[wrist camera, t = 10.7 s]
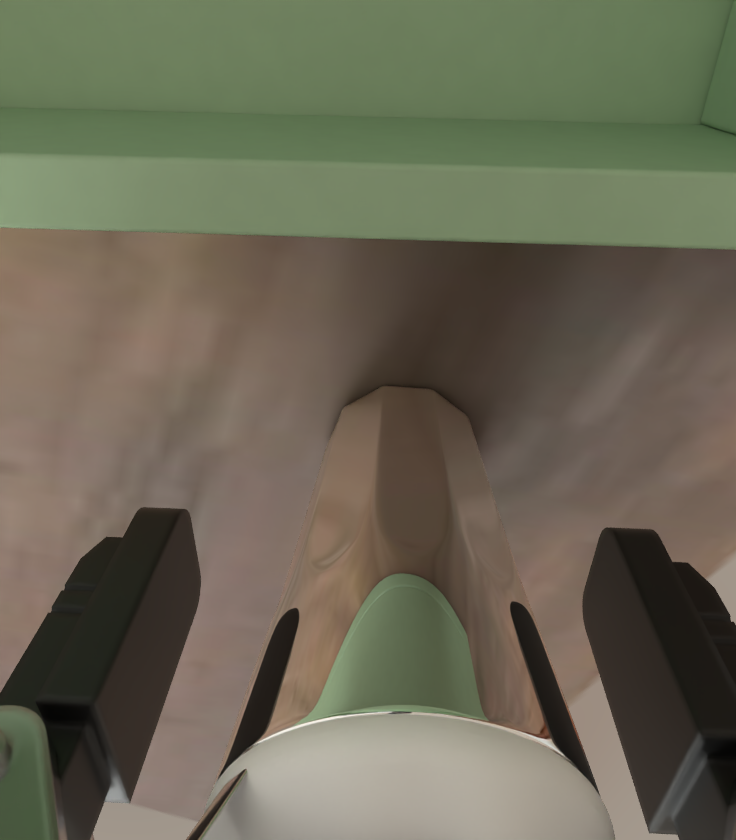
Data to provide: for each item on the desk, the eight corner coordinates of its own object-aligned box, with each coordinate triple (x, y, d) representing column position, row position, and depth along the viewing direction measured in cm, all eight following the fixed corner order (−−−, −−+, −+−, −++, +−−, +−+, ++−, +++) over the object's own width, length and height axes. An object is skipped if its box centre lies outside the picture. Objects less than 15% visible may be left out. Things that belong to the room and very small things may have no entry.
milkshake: (356, 285, 12) (251, 914, 3) (548, 437, 14) (799, 1116, 5) (230, 436, 14) (-35, 1070, 5) (411, 552, 16) (425, 1181, 7)
